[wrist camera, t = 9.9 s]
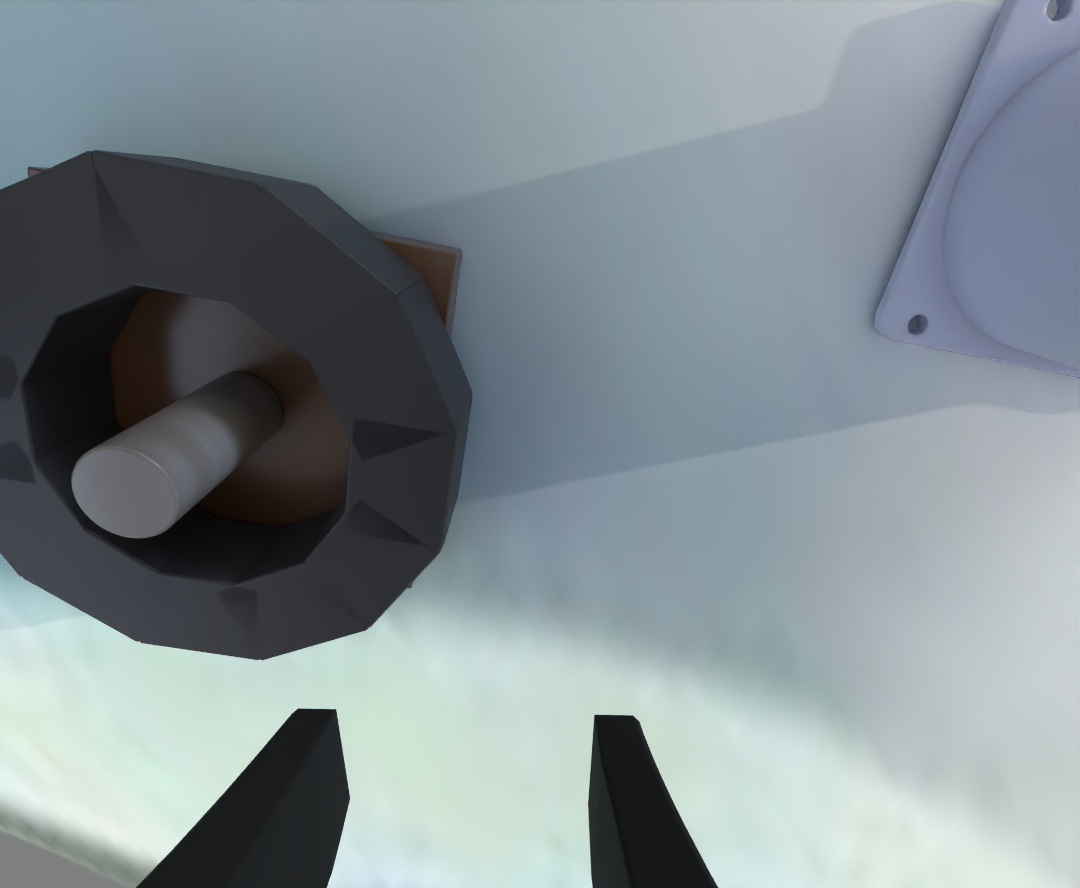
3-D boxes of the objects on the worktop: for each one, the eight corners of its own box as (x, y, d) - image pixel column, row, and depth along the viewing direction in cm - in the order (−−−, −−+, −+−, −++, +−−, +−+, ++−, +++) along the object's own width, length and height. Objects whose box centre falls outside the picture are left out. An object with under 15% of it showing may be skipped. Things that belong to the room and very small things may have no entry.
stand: (463, 249, 15) (414, 282, 10) (418, 566, 19) (365, 723, 14) (65, 168, 15) (-239, 152, 9) (101, 513, 19) (-96, 655, 13)
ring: (498, 221, 14) (488, 227, 11) (439, 617, 19) (422, 685, 16) (-23, 118, 13) (-159, 100, 11) (49, 556, 18) (-35, 618, 15)
